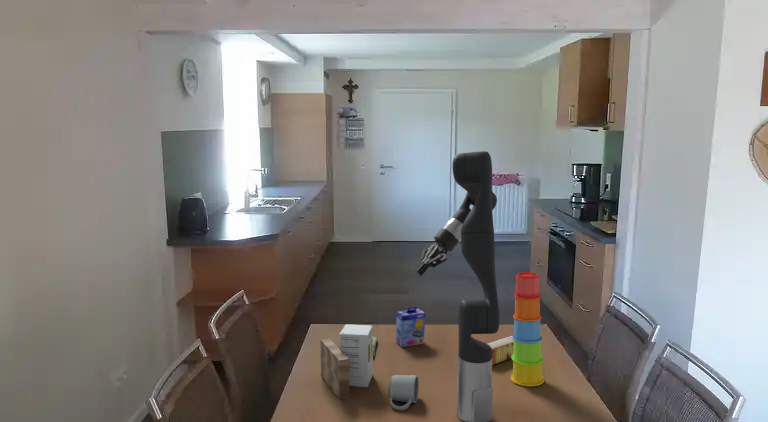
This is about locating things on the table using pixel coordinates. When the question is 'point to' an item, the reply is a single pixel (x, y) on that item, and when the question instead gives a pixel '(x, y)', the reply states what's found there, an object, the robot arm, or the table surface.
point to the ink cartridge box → (410, 327)
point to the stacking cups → (527, 332)
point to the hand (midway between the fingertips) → (418, 273)
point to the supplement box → (358, 352)
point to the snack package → (502, 349)
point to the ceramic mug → (403, 390)
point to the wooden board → (335, 368)
